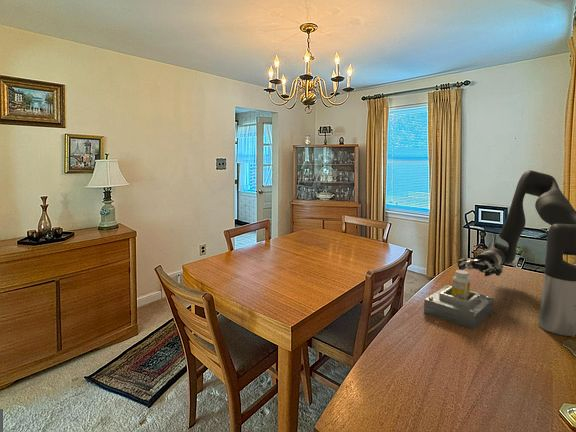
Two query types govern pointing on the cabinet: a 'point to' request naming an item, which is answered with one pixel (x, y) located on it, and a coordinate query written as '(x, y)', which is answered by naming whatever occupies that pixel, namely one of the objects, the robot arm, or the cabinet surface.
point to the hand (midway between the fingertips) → (472, 270)
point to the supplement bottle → (461, 284)
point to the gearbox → (459, 307)
